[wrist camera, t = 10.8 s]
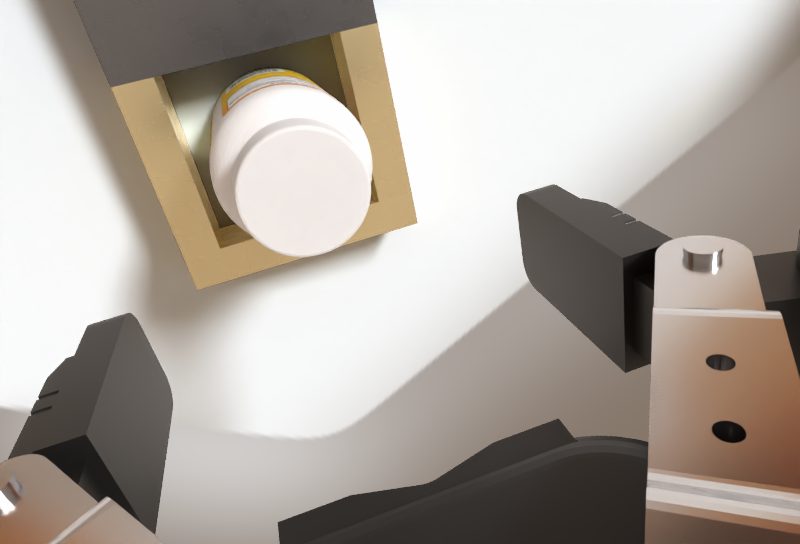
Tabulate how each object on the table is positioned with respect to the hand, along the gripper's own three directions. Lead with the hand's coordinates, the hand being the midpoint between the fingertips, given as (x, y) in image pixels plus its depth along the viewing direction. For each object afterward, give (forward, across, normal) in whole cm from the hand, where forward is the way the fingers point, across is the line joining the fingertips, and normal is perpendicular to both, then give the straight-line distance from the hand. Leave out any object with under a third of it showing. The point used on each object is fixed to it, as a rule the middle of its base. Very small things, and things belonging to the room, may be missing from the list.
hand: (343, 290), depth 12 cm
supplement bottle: (+15, 0, 0) cm, 16 cm away
